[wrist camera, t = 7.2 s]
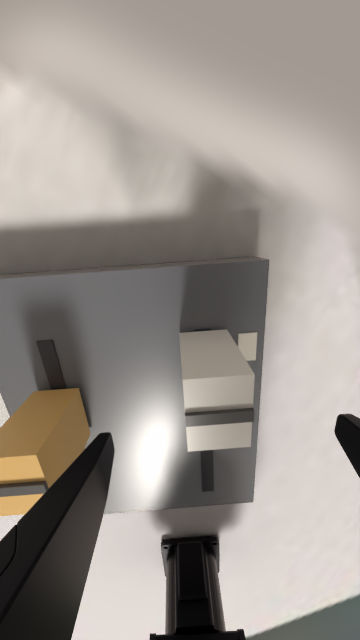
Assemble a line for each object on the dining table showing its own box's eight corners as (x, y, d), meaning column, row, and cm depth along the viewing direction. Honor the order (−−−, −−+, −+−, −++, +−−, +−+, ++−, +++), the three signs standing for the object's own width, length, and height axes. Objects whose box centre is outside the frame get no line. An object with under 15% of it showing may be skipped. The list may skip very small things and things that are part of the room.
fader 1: (90, 433, 16) (55, 515, 12) (49, 436, 16) (-4, 520, 11) (78, 387, 15) (33, 459, 10) (34, 391, 15) (-34, 464, 10)
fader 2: (226, 383, 15) (252, 450, 10) (182, 386, 15) (187, 455, 10) (227, 329, 14) (256, 377, 9) (179, 332, 14) (182, 382, 9)
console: (244, 474, 22) (253, 503, 20) (63, 488, 22) (50, 519, 20) (254, 256, 15) (269, 259, 13) (-11, 275, 15) (-46, 282, 13)
